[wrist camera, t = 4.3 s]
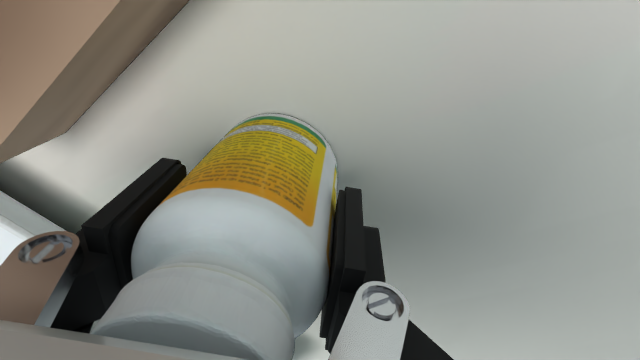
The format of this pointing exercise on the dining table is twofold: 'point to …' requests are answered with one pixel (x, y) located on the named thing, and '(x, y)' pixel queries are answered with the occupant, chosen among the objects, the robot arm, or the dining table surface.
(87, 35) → the walnut socket block
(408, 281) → the dining table surface
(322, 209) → the supplement bottle
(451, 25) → the dining table surface
